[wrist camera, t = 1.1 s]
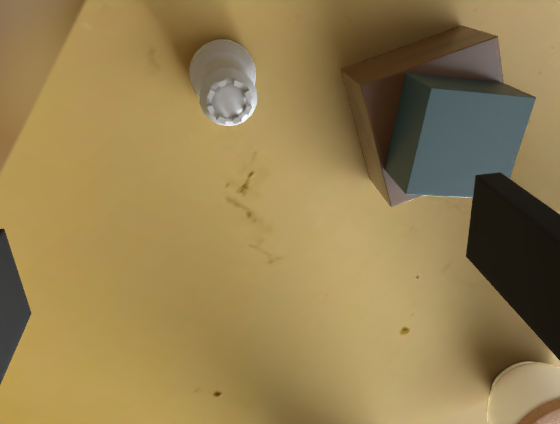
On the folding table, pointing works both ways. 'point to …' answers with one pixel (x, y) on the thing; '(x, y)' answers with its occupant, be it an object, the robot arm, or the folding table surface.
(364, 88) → the base block
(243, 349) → the folding table surface
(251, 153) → the folding table surface
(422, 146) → the top block
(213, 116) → the rook chess piece
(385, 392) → the folding table surface
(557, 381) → the trinket box
